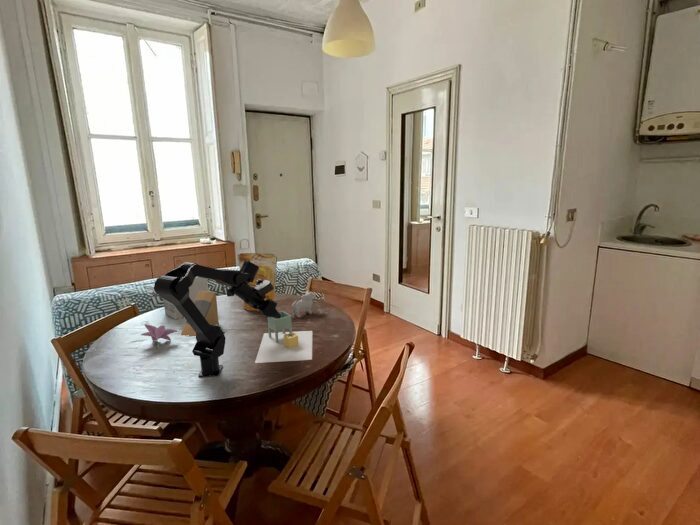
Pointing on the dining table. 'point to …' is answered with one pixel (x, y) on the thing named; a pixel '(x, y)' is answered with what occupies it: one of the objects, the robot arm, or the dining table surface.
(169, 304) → the supplement box
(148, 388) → the dining table surface
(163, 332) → the lily
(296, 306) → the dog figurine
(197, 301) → the sandwich container
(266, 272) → the pancake mix bag
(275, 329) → the green hollow square frame
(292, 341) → the plus sign cube
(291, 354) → the white rectangular sheet
